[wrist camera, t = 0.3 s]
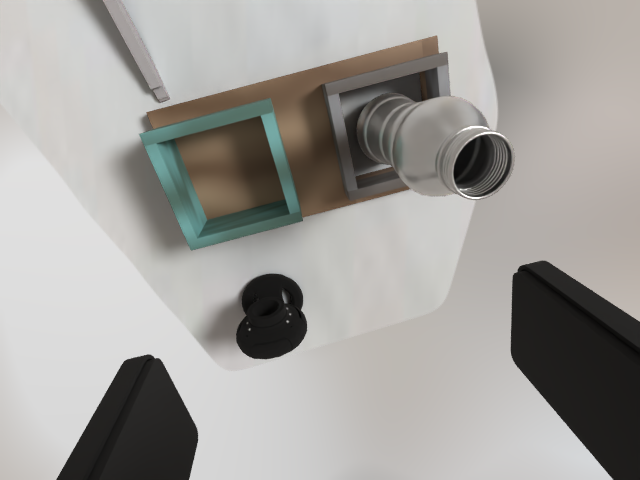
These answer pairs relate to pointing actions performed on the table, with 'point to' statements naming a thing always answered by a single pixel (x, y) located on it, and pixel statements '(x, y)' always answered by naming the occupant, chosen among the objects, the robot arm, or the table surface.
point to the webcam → (271, 318)
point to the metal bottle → (436, 145)
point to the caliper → (136, 47)
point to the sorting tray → (277, 146)
